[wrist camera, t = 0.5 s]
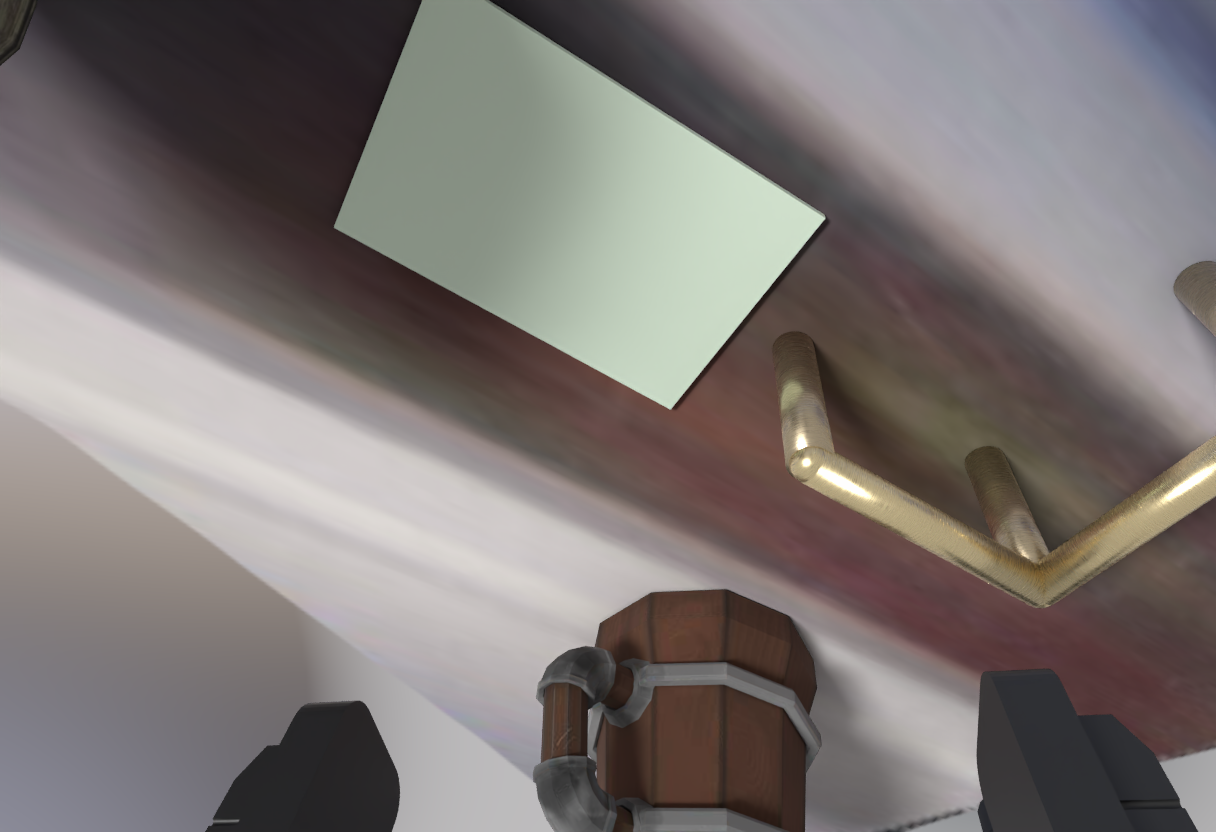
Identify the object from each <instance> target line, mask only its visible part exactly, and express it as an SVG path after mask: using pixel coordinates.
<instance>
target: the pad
mask: <svg viewBox="0 0 1216 832" xmlns="http://www.w3.org/2000/svg"><path fill="white" fill-rule="evenodd" d="M824 219H825V215H824V214H823V213H821V212H819V211H818V210H816V209H815V208H813V207H812V206H810V205H809V204H807V203H805V202H804V201H802V200H801V199H799V198H798V197H796V196H794V195H793V194H791V193H790V192H788V191H787V190H785V189H783V188H782V187H780V186H779V185H777V184H776V183H774V182H773V181H771V180H769V179H768V178H766V177H765V176H763V175H762V174H760V173H758V172H757V171H755V170H754V169H752V168H751V167H749V166H747V165H746V164H744V163H743V162H741V161H740V160H738V159H737V158H735V157H733V156H732V155H730V154H729V153H727V152H726V151H724V150H722V149H721V148H719V147H718V146H716V145H715V144H713V143H711V142H710V141H708V140H707V139H705V138H704V137H702V136H701V135H699V134H697V133H696V132H694V131H693V130H691V129H690V128H688V127H686V126H685V125H683V124H682V123H680V122H679V121H677V120H675V119H674V118H672V117H671V116H669V115H668V114H666V113H665V112H663V111H661V110H660V109H658V108H657V107H655V106H654V105H652V104H650V103H649V102H647V101H646V100H644V99H643V98H641V97H639V96H638V95H636V94H635V93H633V92H632V91H630V90H629V89H627V88H625V87H624V86H622V85H621V84H619V83H618V82H616V81H614V80H613V79H611V78H610V77H608V76H607V75H605V74H603V73H602V72H600V71H599V70H597V69H596V68H594V67H593V66H591V65H589V64H588V63H586V62H585V61H583V60H582V59H580V58H578V57H577V56H575V55H574V54H572V53H571V52H569V51H567V50H566V49H564V48H563V47H561V46H560V45H558V44H557V43H555V42H553V41H552V40H550V39H549V38H547V37H546V36H544V35H542V34H541V33H539V32H538V31H536V30H535V29H533V28H531V27H530V26H528V25H527V24H525V23H524V22H522V21H521V20H519V19H517V18H516V17H514V16H513V15H511V14H510V13H508V12H506V11H505V10H503V9H502V8H500V7H499V6H497V5H495V4H494V3H492V2H491V1H489V0H422V3H421V5H420V8H419V10H418V13H417V15H416V18H415V21H414V23H413V26H412V28H411V31H410V33H409V36H408V38H407V41H406V44H405V46H404V49H403V51H402V54H401V56H400V59H399V61H398V64H397V67H396V69H395V72H394V74H393V77H392V79H391V82H390V85H389V87H388V90H387V92H386V95H385V97H384V100H383V102H382V105H381V108H380V110H379V113H378V115H377V118H376V120H375V123H374V125H373V128H372V131H371V133H370V136H369V138H368V141H367V143H366V146H365V149H364V151H363V154H362V156H361V159H360V161H359V164H358V166H357V169H356V172H355V174H354V177H353V179H352V182H351V184H350V187H349V190H348V192H347V195H346V197H345V200H344V202H343V205H342V207H341V210H340V213H339V215H338V218H337V220H336V223H335V225H334V228H335V229H337V230H339V231H341V232H343V233H345V234H346V235H348V236H350V237H352V238H354V239H356V240H358V241H359V242H361V243H363V244H365V245H367V246H369V247H370V248H372V249H374V250H376V251H378V252H380V253H382V254H383V255H385V256H387V257H389V258H391V259H393V260H395V261H396V262H398V263H400V264H402V265H404V266H406V267H407V268H409V269H411V270H413V271H415V272H417V273H419V274H420V275H422V276H424V277H426V278H428V279H430V280H432V281H433V282H435V283H437V284H439V285H441V286H443V287H445V288H446V289H448V290H450V291H452V292H454V293H456V294H457V295H459V296H461V297H463V298H465V299H467V300H469V301H470V302H472V303H474V304H476V305H478V306H480V307H482V308H483V309H485V310H487V311H489V312H491V313H493V314H494V315H496V316H498V317H500V318H502V319H504V320H506V321H507V322H509V323H511V324H513V325H515V326H517V327H519V328H520V329H522V330H524V331H526V332H528V333H530V334H531V335H533V336H535V337H537V338H539V339H541V340H543V341H544V342H546V343H548V344H550V345H552V346H554V347H556V348H557V349H559V350H561V351H563V352H565V353H567V354H569V355H570V356H572V357H574V358H576V359H578V360H580V361H581V362H583V363H585V364H587V365H589V366H591V367H593V368H594V369H596V370H598V371H600V372H602V373H604V374H606V375H607V376H609V377H611V378H613V379H615V380H617V381H618V382H620V383H622V384H624V385H626V386H628V387H630V388H631V389H633V390H635V391H637V392H639V393H641V394H643V395H644V396H646V397H648V398H650V399H652V400H654V401H655V402H657V403H659V404H661V405H663V406H665V407H667V408H668V409H670V410H671V408H672V407H673V406H674V405H675V403H676V402H677V401H678V400H679V399H680V397H681V396H682V395H683V394H684V392H685V391H686V390H687V389H688V387H689V386H690V385H691V384H692V382H693V381H694V380H695V379H696V378H697V376H698V375H699V374H700V373H701V371H702V370H703V369H704V368H705V366H706V365H707V364H708V363H709V361H710V360H711V359H712V358H713V357H714V355H715V354H716V353H717V352H718V350H719V349H720V348H721V347H722V345H723V344H724V343H725V342H726V340H727V339H728V338H729V337H730V336H731V334H732V333H733V332H734V331H735V329H736V328H737V327H738V326H739V324H740V323H741V322H742V321H743V319H744V318H745V317H746V316H747V315H748V313H749V312H750V311H751V310H752V308H753V307H754V306H755V305H756V303H757V302H758V301H759V300H760V298H761V297H762V296H763V295H764V294H765V292H766V291H767V290H768V289H769V287H770V286H771V285H772V284H773V282H774V281H775V280H776V279H777V278H778V276H779V275H780V274H781V273H782V271H783V270H784V269H785V268H786V266H787V265H788V264H789V263H790V261H791V260H792V259H793V258H794V257H795V255H796V254H797V253H798V252H799V250H800V249H801V248H802V247H803V245H804V244H805V243H806V242H807V240H808V239H809V238H810V237H811V236H812V234H813V233H814V232H815V231H816V229H817V228H818V227H819V226H820V224H821V223H822V222H823V221H824Z"/></svg>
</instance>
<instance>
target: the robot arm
mask: <svg viewBox="0 0 1216 832" xmlns="http://www.w3.org/2000/svg"><path fill="white" fill-rule="evenodd" d="M977 768H978V775H979V781H980V787H981V792H982V796H983V800H984V804H985V807H986V810H987V813H988V816H989V819H990V822H991V825H992V828H993V831H994V832H1198V831H1197V829H1196V827H1195V825H1194V824H1193V822H1192V820H1191V818H1190V817H1189V815H1188V813H1187V811H1186V809H1185V808H1182V807H1181V805H1180V799H1179V797H1178V795H1177V793H1176V792H1175V790H1174V788H1173V786H1172V785H1171V783H1170V781H1169V779H1168V778H1167V776H1166V774H1165V772H1164V771H1163V769H1162V767H1161V765H1160V763H1159V762H1158V760H1157V758H1156V756H1155V755H1154V753H1153V752H1152V751H1151V750H1150V749H1149V748H1148V747H1147V746H1145V745H1144V744H1143V743H1142V742H1141V741H1140V740H1139V739H1138V738H1137V737H1136V736H1134V735H1133V734H1132V733H1131V732H1130V731H1129V730H1128V729H1127V728H1126V727H1125V726H1124V725H1122V724H1121V723H1120V722H1119V721H1118V720H1117V719H1116V718H1115V717H1114V716H1113V715H1111V714H1110V715H1085V716H1077V714H1076V711H1075V709H1074V707H1073V705H1072V703H1071V701H1070V699H1069V697H1068V695H1067V693H1066V691H1065V689H1064V687H1063V685H1062V683H1061V681H1060V680H1059V678H1058V676H1057V675H1056V674H1055V672H1054V671H1053V670H1051V669H1031V670H1011V671H991V672H984V673H983V674H982V676H981V683H980V701H979V719H978V738H977ZM399 798H400V786H399V778H398V773H397V770H396V768H395V766H394V764H393V761H392V759H391V757H390V755H389V753H388V750H387V748H386V746H385V744H384V742H383V740H382V737H381V735H380V733H379V731H378V729H377V727H376V724H375V722H374V720H373V718H372V716H371V713H370V711H369V709H368V708H367V706H366V705H365V704H364V703H363V702H361V701H341V702H322V703H308V704H306V705H304V706H303V707H301V709H300V710H299V711H298V712H297V713H296V715H295V717H294V719H293V721H292V722H291V724H290V726H289V728H288V730H287V732H286V734H285V735H284V737H283V739H282V741H281V743H280V745H273V746H267V747H266V748H265V749H264V750H263V751H262V752H261V753H260V754H259V755H258V756H257V757H256V758H255V759H254V760H253V761H252V762H251V763H250V764H249V765H248V767H246V769H245V770H244V771H243V772H242V773H241V774H240V775H239V776H238V777H237V778H236V779H235V780H234V782H233V784H232V786H231V787H230V789H229V791H228V793H227V794H226V796H225V798H224V800H223V801H222V803H221V805H220V807H219V808H218V810H217V812H216V814H215V816H214V818H213V820H214V821H213V825H212V826H208V828H207V830H206V831H205V832H392V829H393V826H394V824H395V820H396V817H397V813H398V807H399Z"/></svg>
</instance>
